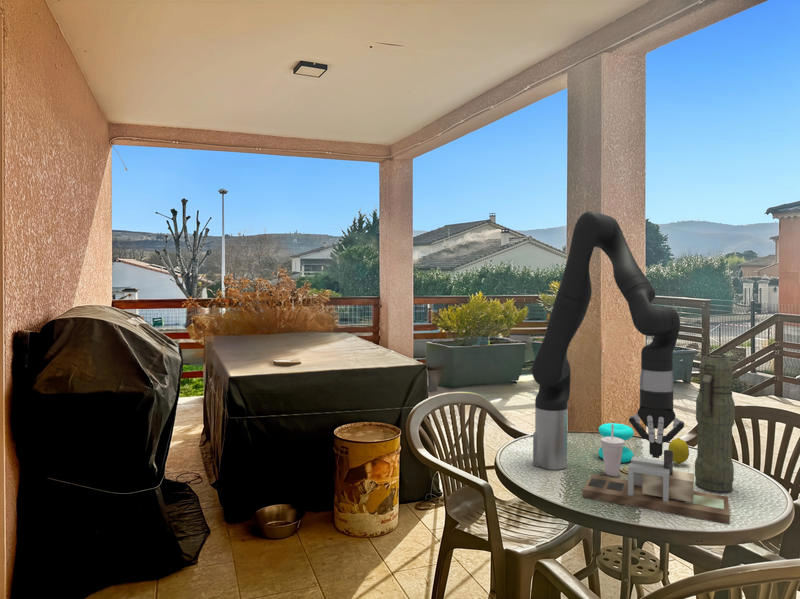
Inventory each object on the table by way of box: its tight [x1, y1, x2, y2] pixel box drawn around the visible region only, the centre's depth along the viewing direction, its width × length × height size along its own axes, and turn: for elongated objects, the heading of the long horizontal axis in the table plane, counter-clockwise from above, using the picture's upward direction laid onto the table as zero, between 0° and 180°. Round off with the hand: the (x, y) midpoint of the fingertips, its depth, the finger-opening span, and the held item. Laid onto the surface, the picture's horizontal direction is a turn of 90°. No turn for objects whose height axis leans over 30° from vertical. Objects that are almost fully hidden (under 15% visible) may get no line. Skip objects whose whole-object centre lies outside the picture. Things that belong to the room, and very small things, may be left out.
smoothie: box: [600, 424, 625, 477], centre depth 156 cm, size 6×6×14 cm
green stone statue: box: [694, 353, 736, 494], centre depth 145 cm, size 9×12×35 cm
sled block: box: [642, 449, 695, 502], centre depth 135 cm, size 11×6×11 cm, turn 61°
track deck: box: [582, 473, 731, 525], centre depth 137 cm, size 32×12×2 cm, turn 61°
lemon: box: [667, 437, 690, 465], centre depth 163 cm, size 6×6×8 cm
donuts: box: [598, 422, 635, 464], centre depth 168 cm, size 10×10×10 cm
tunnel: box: [627, 456, 670, 502], centre depth 137 cm, size 9×9×7 cm
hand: (655, 456), depth 136 cm, fingers closed
